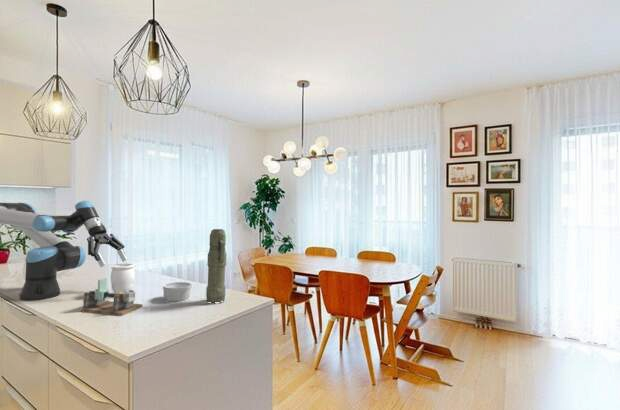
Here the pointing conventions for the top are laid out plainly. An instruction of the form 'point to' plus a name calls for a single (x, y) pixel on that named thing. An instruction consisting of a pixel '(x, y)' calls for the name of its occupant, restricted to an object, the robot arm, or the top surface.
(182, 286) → the ramekin
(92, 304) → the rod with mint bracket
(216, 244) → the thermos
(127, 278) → the jar
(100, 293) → the mint green stepped block
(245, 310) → the top surface
